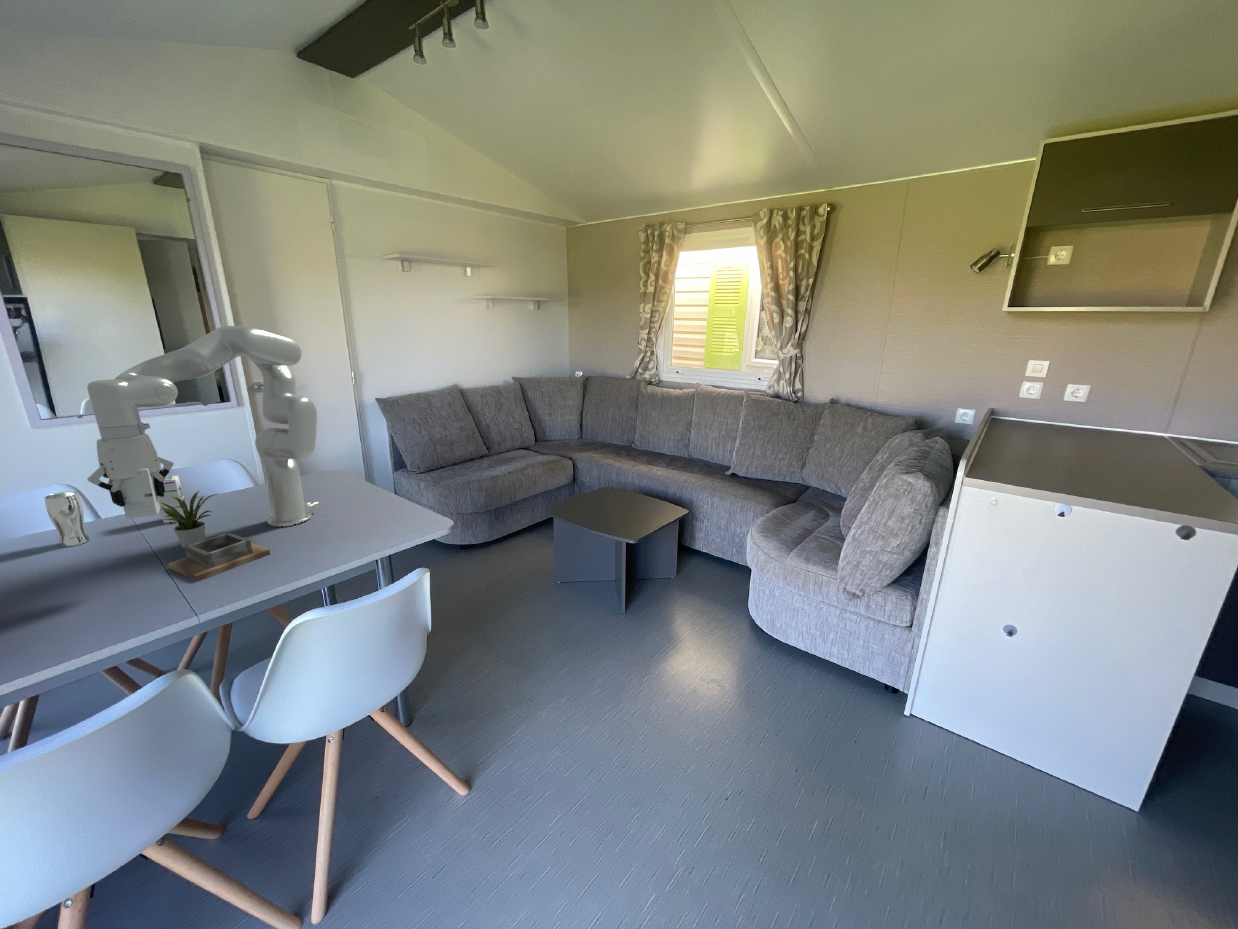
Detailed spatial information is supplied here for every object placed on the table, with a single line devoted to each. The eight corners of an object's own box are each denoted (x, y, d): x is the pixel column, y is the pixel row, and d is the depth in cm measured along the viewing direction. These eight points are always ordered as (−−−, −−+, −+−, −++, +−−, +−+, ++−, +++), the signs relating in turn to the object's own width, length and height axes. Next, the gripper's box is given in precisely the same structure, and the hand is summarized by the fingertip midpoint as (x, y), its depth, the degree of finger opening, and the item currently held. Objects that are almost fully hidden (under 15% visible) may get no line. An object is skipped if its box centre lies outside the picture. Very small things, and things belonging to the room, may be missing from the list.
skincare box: (125, 519, 123) (112, 473, 120) (130, 513, 127) (117, 468, 123) (158, 515, 126) (146, 469, 123) (162, 509, 130) (150, 464, 126)
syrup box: (186, 520, 166) (176, 479, 162) (162, 524, 163) (152, 481, 159) (188, 514, 170) (179, 474, 166) (165, 518, 167) (155, 477, 163)
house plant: (224, 530, 160) (214, 481, 155) (232, 544, 150) (222, 493, 146) (165, 542, 150) (153, 491, 145) (169, 558, 141) (156, 504, 136)
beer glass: (96, 540, 150) (83, 493, 146) (64, 549, 144) (49, 500, 140) (85, 536, 153) (71, 489, 149) (53, 544, 147) (38, 496, 142)
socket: (242, 543, 151) (238, 526, 149) (270, 554, 145) (267, 536, 143) (169, 568, 135) (165, 550, 134) (197, 581, 129) (193, 562, 128)
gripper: (159, 423, 129) (175, 487, 135) (65, 437, 114) (87, 509, 120) (173, 426, 126) (189, 492, 131) (79, 441, 111) (101, 515, 116)
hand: (140, 500), depth 125 cm, fingers closed on skincare box, 7 cm apart
